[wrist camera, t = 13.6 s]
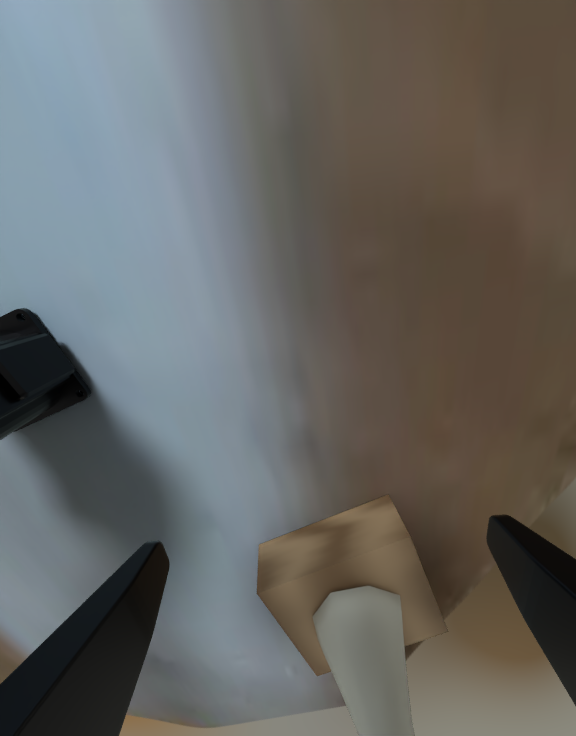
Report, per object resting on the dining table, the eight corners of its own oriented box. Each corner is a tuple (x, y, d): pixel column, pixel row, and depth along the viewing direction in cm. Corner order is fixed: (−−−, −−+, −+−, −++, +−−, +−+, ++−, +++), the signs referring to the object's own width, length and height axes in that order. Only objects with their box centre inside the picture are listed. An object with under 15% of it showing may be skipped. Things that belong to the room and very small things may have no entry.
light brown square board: (310, 623, 29) (317, 676, 25) (258, 544, 25) (256, 593, 21) (424, 582, 28) (448, 631, 24) (388, 494, 24) (410, 536, 20)
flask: (388, 643, 24) (463, 881, 15) (304, 641, 24) (327, 891, 14) (412, 583, 22) (519, 820, 13) (320, 579, 21) (360, 827, 12)
